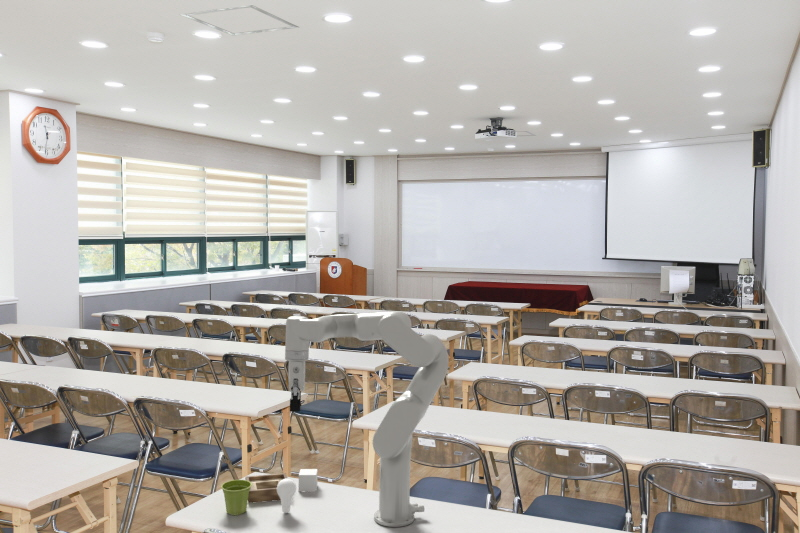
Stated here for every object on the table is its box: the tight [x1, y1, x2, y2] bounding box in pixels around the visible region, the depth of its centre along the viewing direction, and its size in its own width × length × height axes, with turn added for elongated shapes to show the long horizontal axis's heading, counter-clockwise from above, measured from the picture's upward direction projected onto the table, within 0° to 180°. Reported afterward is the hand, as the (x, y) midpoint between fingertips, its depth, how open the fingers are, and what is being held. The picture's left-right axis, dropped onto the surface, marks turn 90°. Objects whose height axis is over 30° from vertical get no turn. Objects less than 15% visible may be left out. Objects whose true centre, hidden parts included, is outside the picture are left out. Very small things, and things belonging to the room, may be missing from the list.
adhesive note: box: [298, 468, 318, 493], centre depth 236 cm, size 6×6×6 cm
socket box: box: [244, 472, 289, 504], centre depth 231 cm, size 14×14×4 cm
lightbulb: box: [277, 478, 297, 514], centre depth 215 cm, size 6×6×11 cm
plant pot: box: [220, 479, 252, 516], centre depth 216 cm, size 9×9×9 cm
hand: (295, 407), depth 219 cm, fingers open, 9 cm apart
